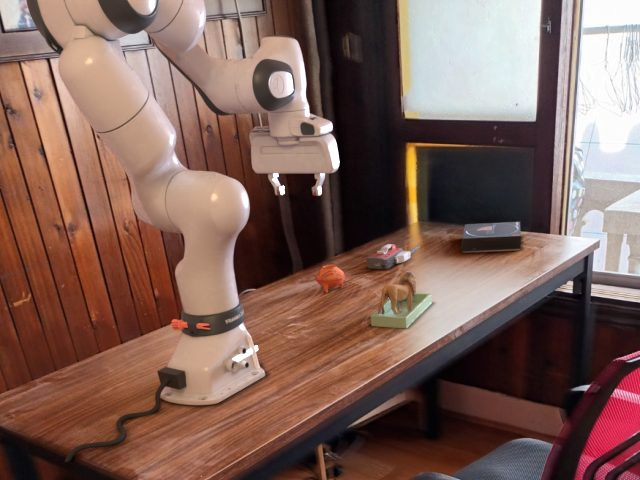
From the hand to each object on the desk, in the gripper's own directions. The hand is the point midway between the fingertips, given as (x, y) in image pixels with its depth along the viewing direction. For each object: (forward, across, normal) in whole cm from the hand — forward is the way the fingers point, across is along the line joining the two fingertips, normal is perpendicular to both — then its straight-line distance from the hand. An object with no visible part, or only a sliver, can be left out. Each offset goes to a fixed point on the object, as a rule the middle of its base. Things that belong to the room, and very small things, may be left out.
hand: (298, 195), depth 166 cm
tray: (+27, +21, +5) cm, 35 cm away
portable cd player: (+26, +24, +67) cm, 76 cm away
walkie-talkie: (+27, +1, +47) cm, 54 cm away
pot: (+27, -5, +20) cm, 34 cm away
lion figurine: (+26, +21, +3) cm, 34 cm away
